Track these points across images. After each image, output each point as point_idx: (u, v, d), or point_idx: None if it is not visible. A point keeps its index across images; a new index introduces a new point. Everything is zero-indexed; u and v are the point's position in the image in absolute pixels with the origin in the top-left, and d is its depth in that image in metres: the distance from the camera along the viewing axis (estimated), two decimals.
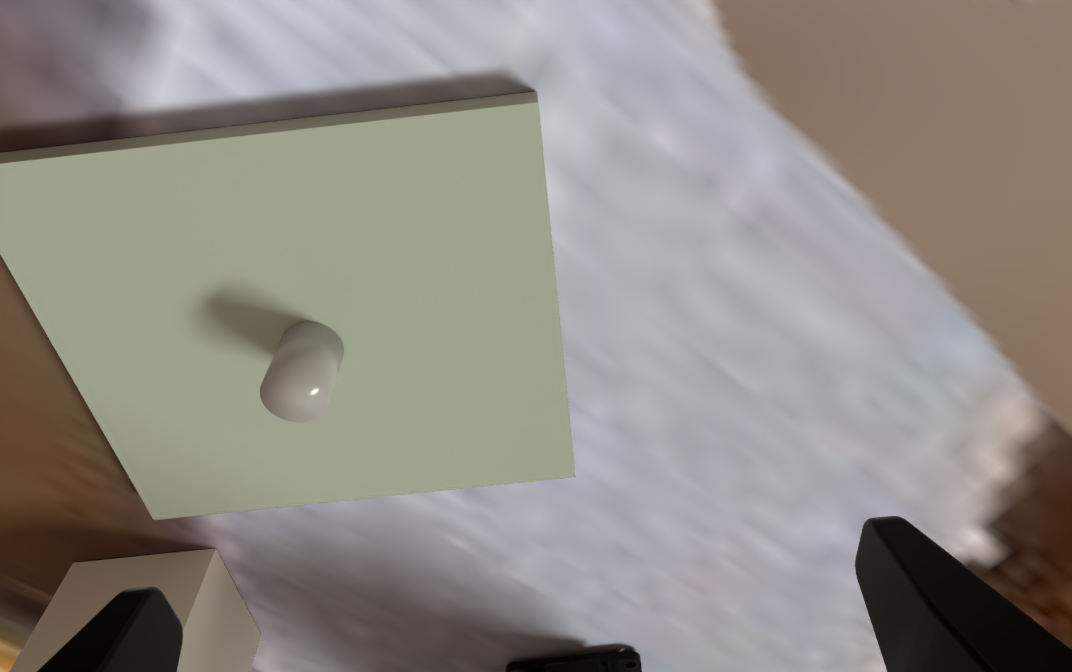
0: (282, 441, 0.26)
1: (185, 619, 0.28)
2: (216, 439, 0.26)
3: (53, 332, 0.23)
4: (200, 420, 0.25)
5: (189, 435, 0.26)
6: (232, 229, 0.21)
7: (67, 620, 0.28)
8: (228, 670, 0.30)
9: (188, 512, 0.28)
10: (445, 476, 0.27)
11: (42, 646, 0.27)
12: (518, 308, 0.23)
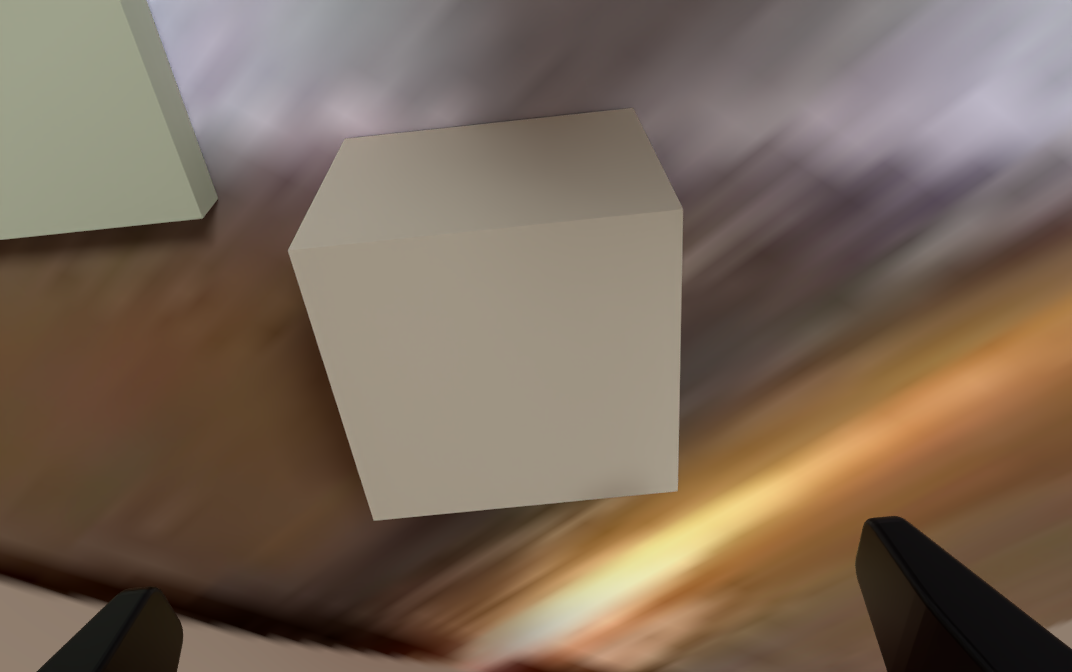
0: None
1: None
2: None
3: None
4: None
5: None
6: None
7: None
8: (551, 169, 0.13)
9: (166, 152, 0.14)
10: None
11: None
12: None
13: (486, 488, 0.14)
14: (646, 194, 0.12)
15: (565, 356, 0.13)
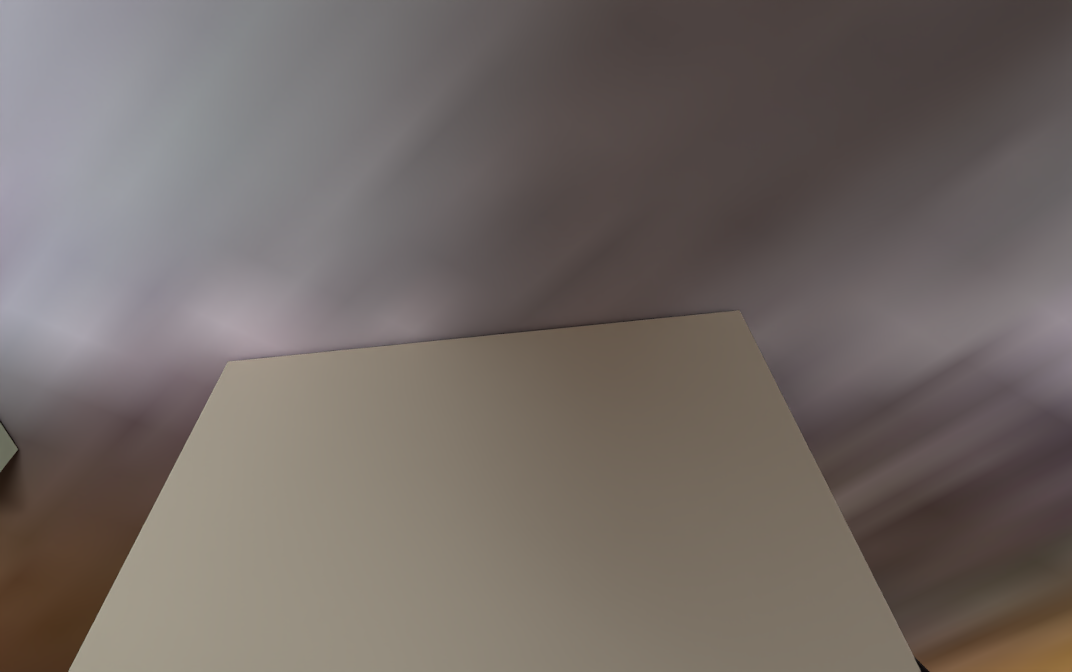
0: None
1: (106, 612, 0.06)
2: None
3: None
4: None
5: None
6: None
7: None
8: (610, 514, 0.06)
9: None
10: None
11: None
12: None
13: None
14: (849, 664, 0.05)
15: None
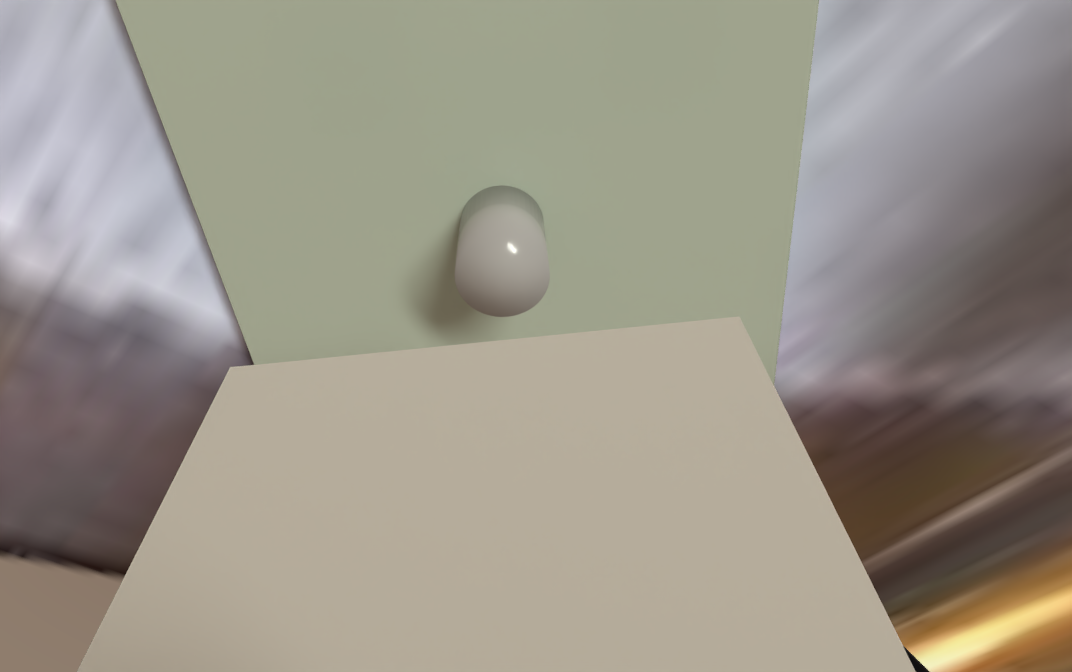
0: (660, 285, 0.19)
1: (111, 618, 0.06)
2: None
3: None
4: None
5: None
6: (332, 283, 0.18)
7: None
8: (610, 520, 0.06)
9: None
10: (779, 57, 0.16)
11: None
12: None
13: None
14: (848, 671, 0.05)
15: None
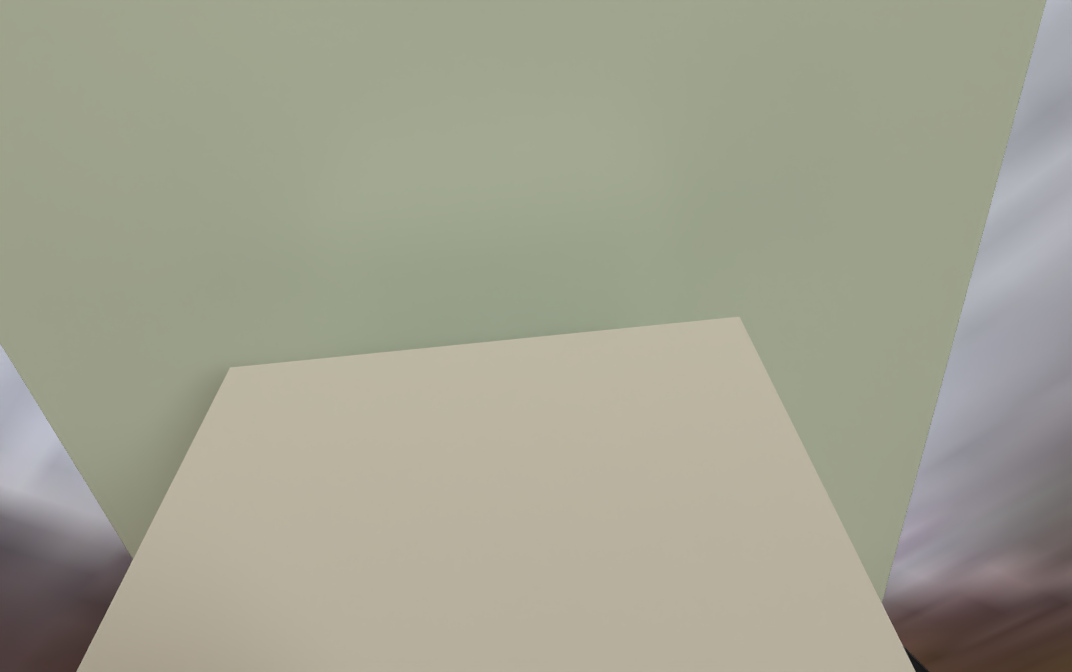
0: None
1: (110, 619, 0.06)
2: None
3: None
4: None
5: None
6: None
7: None
8: (610, 521, 0.06)
9: None
10: (941, 195, 0.10)
11: None
12: None
13: None
14: None
15: None
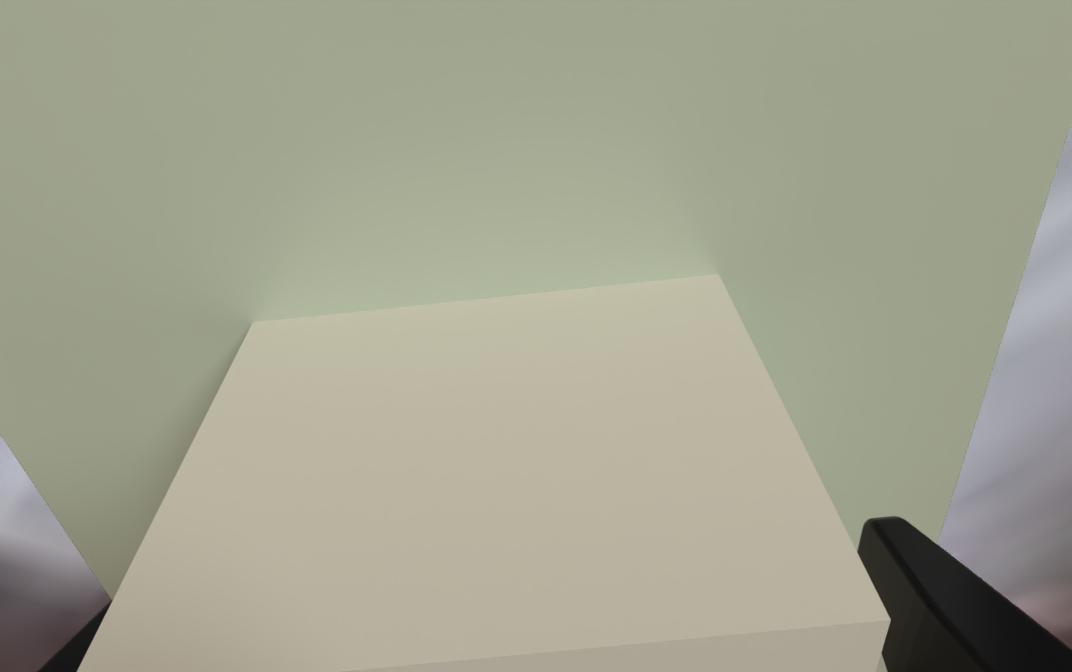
0: None
1: (156, 526, 0.07)
2: None
3: None
4: None
5: None
6: None
7: None
8: (598, 442, 0.07)
9: (886, 669, 0.15)
10: (982, 224, 0.09)
11: None
12: None
13: None
14: (799, 555, 0.06)
15: None
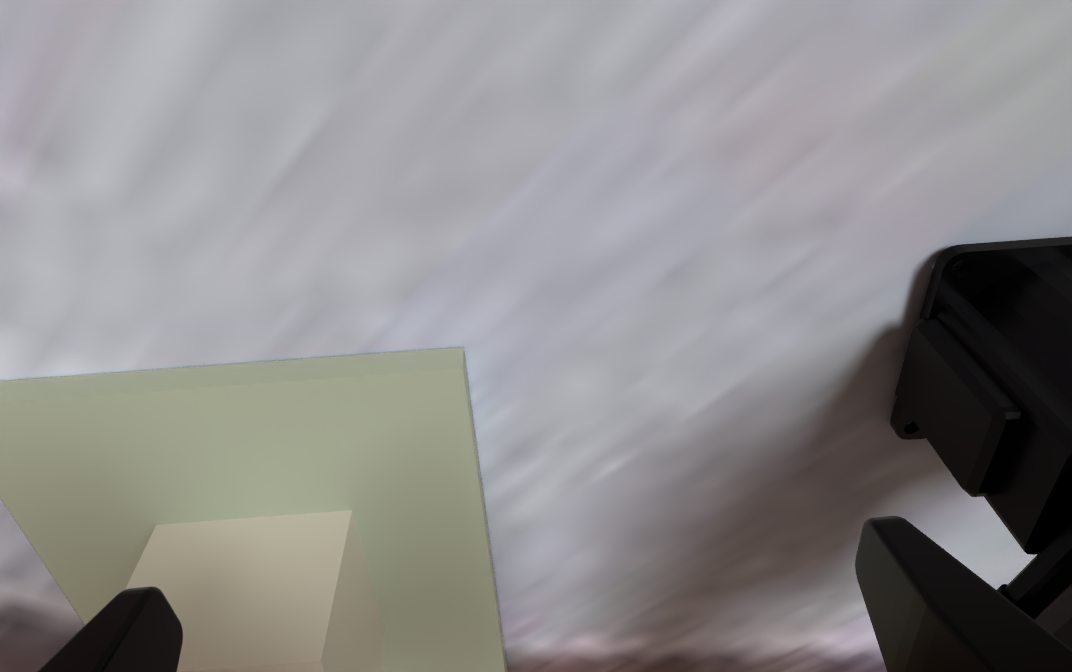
0: (402, 608, 0.26)
1: None
2: (401, 647, 0.27)
3: None
4: None
5: (397, 661, 0.27)
6: None
7: None
8: (267, 594, 0.20)
9: None
10: (456, 494, 0.23)
11: None
12: (193, 424, 0.21)
13: None
14: (308, 639, 0.19)
15: None
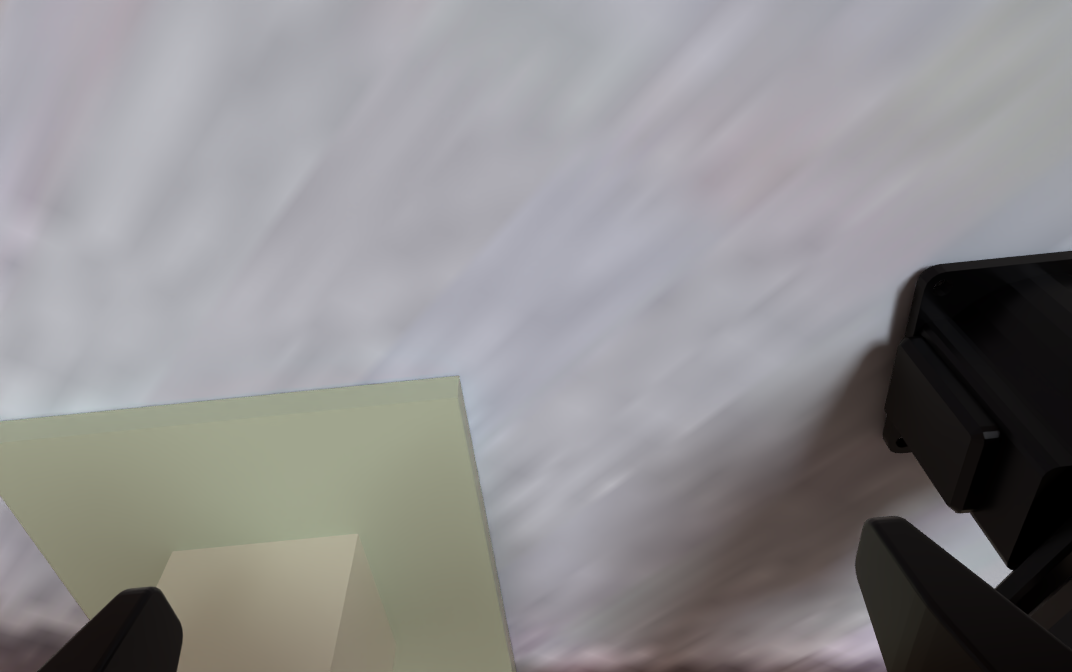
0: (411, 626, 0.26)
1: None
2: (412, 663, 0.28)
3: None
4: None
5: None
6: None
7: None
8: (278, 618, 0.21)
9: None
10: (458, 516, 0.23)
11: None
12: (203, 456, 0.21)
13: None
14: (316, 662, 0.20)
15: None
